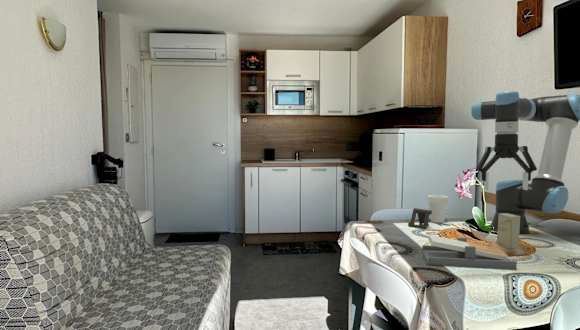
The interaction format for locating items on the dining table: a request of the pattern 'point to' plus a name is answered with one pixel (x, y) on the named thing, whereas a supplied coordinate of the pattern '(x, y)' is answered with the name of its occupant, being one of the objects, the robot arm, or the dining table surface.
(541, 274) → the dining table surface
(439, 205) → the foam cup
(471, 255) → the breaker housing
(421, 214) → the portable electronic device stand
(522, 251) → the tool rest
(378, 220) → the dining table surface
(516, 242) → the skincare box
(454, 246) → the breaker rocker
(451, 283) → the dining table surface
